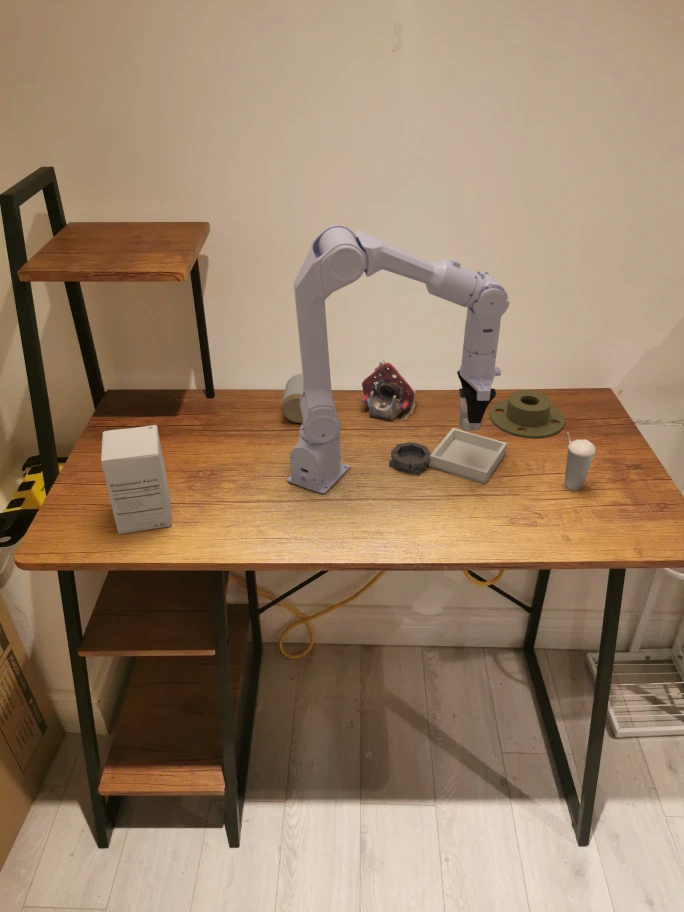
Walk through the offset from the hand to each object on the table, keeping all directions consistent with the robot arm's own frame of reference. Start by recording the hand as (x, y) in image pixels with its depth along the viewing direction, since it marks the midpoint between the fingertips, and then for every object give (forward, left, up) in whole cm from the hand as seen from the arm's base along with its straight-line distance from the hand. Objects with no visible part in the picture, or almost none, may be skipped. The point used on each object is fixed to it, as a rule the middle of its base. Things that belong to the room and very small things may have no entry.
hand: (472, 415), depth 130 cm
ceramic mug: (-1, +35, -10) cm, 36 cm away
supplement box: (-42, +42, -10) cm, 60 cm away
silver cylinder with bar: (0, 0, -2) cm, 2 cm away
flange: (+20, -5, -10) cm, 23 cm away
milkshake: (+2, -19, -10) cm, 22 cm away
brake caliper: (+10, +22, -10) cm, 26 cm away
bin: (0, 0, -10) cm, 10 cm away
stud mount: (-6, +9, -10) cm, 15 cm away
